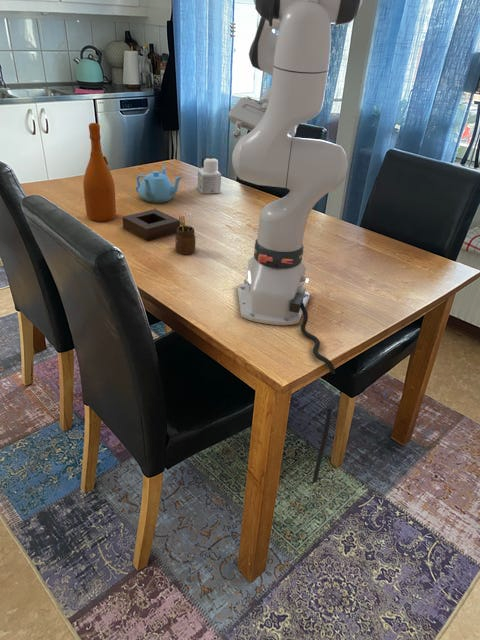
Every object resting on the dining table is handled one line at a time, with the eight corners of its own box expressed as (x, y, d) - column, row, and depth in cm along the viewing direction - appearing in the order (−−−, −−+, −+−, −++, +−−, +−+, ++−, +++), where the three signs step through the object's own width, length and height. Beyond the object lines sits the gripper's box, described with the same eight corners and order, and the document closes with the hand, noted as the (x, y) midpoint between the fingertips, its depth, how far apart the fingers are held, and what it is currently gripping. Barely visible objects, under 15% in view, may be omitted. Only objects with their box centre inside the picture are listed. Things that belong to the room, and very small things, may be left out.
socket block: (180, 232, 159) (180, 220, 156) (147, 241, 150) (147, 229, 148) (155, 220, 166) (155, 208, 164) (123, 228, 158) (122, 216, 156)
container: (197, 187, 200) (198, 155, 193) (215, 187, 202) (217, 155, 195) (201, 193, 194) (202, 160, 187) (220, 193, 196) (222, 160, 189)
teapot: (131, 194, 187) (130, 167, 182) (167, 190, 194) (167, 164, 188) (145, 206, 177) (144, 178, 171) (183, 202, 183) (183, 175, 178)
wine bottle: (119, 221, 162) (113, 126, 147) (88, 223, 159) (79, 126, 143) (114, 211, 170) (107, 120, 154) (84, 213, 167) (75, 120, 151)
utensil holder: (198, 248, 148) (199, 210, 142) (190, 256, 143) (191, 217, 137) (179, 245, 149) (179, 207, 143) (171, 253, 144) (171, 214, 138)
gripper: (242, 86, 142) (217, 121, 139) (303, 111, 137) (279, 148, 134) (244, 103, 148) (220, 136, 145) (303, 127, 143) (279, 162, 140)
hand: (249, 142), depth 139 cm, fingers open, 8 cm apart
